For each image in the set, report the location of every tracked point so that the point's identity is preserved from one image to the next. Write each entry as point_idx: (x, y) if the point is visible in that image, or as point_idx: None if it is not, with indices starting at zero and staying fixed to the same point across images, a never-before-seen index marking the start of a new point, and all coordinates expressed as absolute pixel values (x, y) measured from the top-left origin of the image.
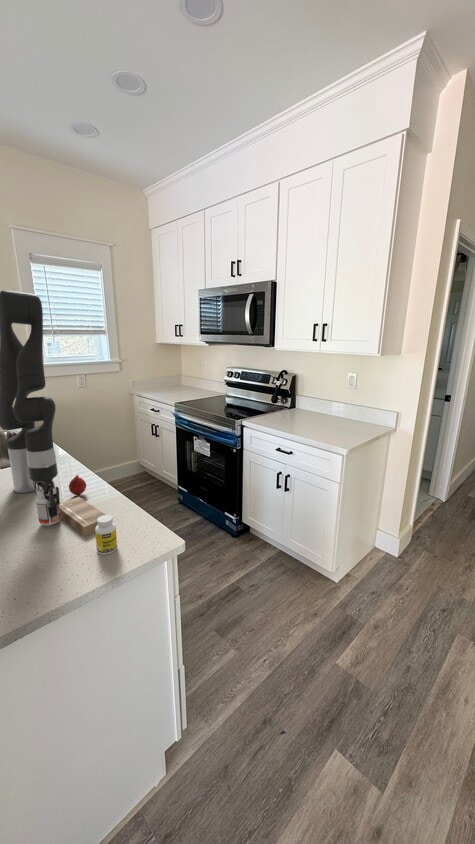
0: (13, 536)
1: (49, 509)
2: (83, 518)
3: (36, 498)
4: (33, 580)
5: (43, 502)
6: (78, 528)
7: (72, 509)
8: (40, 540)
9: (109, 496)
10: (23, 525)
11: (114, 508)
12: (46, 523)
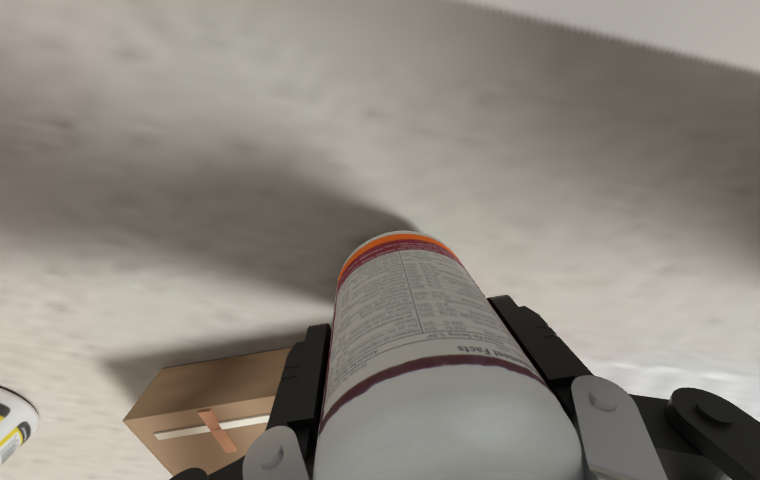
0: (387, 36)
1: (296, 389)
2: (235, 431)
3: (510, 425)
4: None
5: (329, 451)
6: (223, 369)
7: None
8: (221, 188)
9: None
10: (497, 137)
11: None
12: (343, 266)
